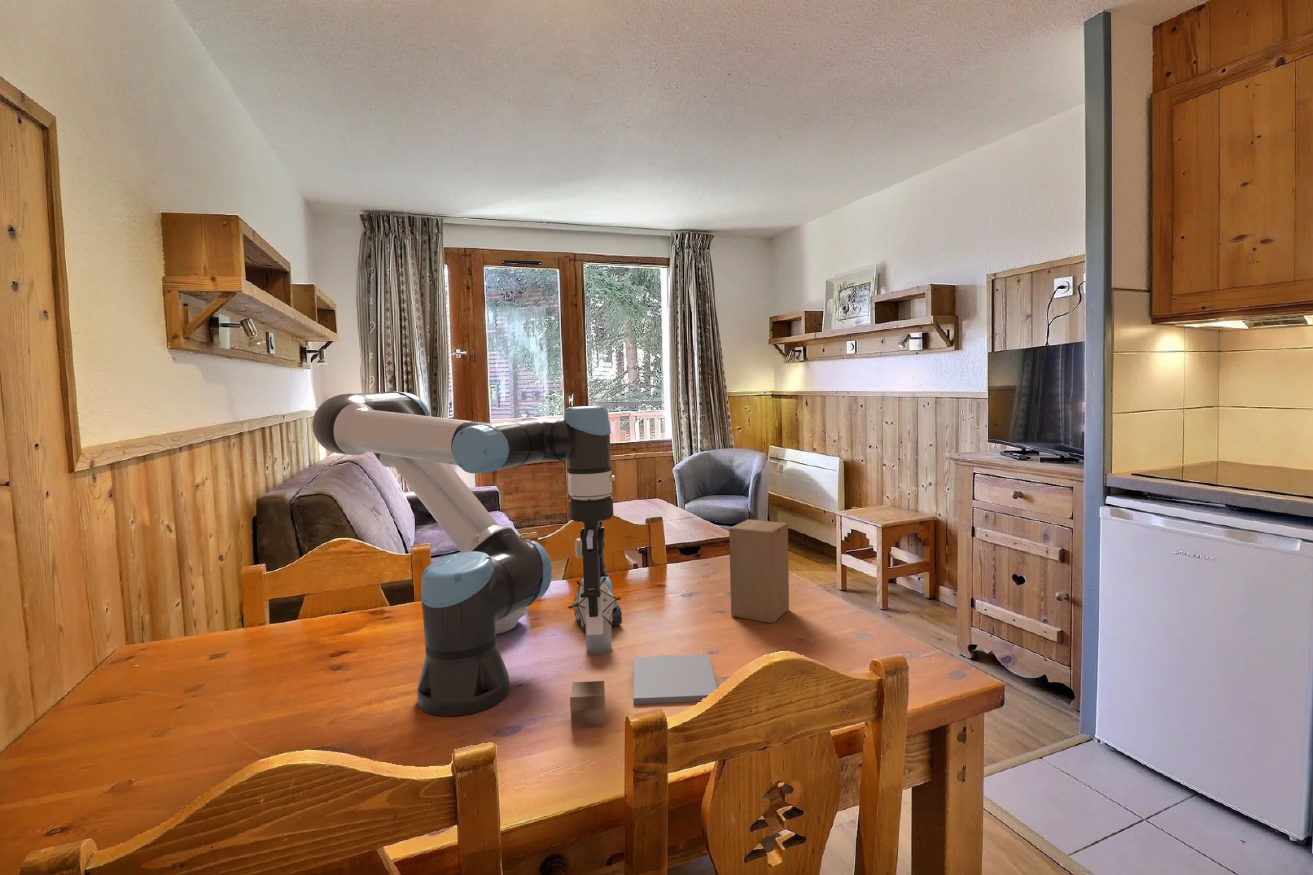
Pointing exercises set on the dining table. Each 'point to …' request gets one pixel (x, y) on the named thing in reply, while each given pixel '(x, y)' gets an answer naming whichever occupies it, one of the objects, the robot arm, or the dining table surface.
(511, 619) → the paper bowls
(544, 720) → the dining table surface
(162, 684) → the dining table surface
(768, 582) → the wooden block
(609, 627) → the grey cylinder
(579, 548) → the toy excavator
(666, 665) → the slate board
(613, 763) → the dining table surface
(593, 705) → the walnut block
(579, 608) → the game die
